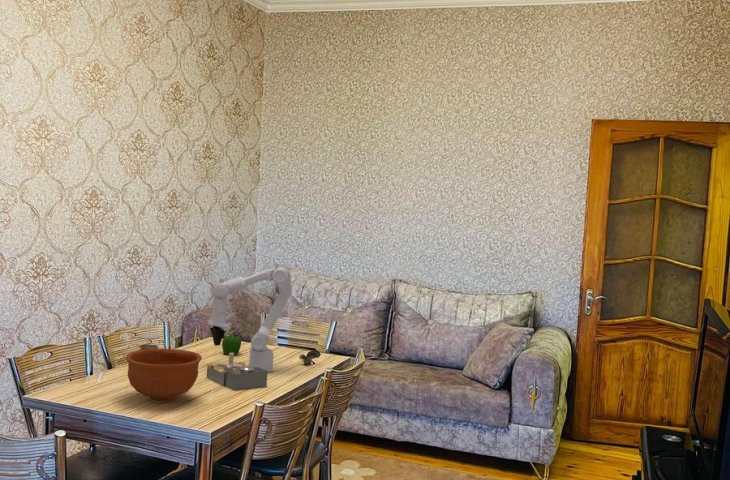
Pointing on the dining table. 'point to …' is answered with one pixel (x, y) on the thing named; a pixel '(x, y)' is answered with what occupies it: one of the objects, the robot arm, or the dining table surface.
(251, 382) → the motor mount
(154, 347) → the french press
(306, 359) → the eagle figurine
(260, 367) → the robot arm
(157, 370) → the bowl
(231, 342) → the bell pepper
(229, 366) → the pipe connector
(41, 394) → the dining table surface
